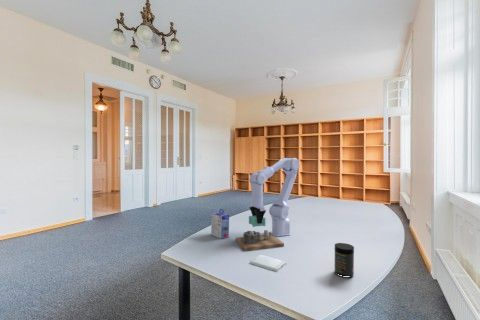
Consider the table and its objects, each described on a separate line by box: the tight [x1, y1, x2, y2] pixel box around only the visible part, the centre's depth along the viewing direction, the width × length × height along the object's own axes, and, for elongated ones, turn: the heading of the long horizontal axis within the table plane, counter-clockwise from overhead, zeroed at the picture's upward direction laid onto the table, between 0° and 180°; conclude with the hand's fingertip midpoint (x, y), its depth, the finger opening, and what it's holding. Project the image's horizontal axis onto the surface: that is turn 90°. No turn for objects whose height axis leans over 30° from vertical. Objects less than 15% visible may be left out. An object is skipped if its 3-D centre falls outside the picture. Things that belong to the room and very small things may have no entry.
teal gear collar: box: [248, 215, 267, 228], centre depth 127 cm, size 7×7×4 cm
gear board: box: [235, 229, 285, 252], centre depth 122 cm, size 20×15×6 cm
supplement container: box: [333, 242, 355, 277], centre depth 91 cm, size 7×7×10 cm
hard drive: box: [249, 254, 287, 272], centre depth 99 cm, size 2×8×12 cm
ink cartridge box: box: [210, 208, 230, 240], centre depth 133 cm, size 10×6×14 cm, turn 41°
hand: (257, 221), depth 127 cm, fingers closed on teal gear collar, 6 cm apart
